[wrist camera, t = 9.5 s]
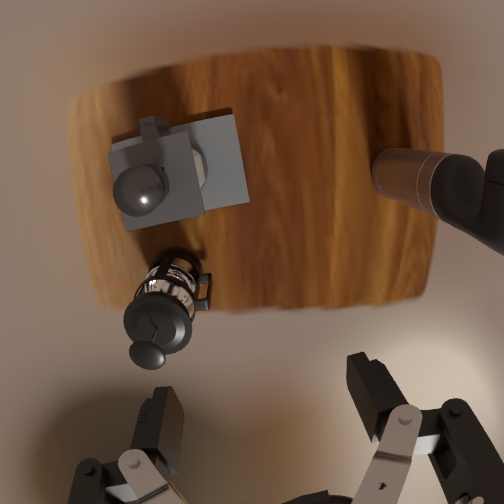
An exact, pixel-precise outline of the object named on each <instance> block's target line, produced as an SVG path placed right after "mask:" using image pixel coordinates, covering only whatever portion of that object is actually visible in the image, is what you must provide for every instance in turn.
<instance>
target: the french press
mask: <svg viewBox="0 0 504 504" xmlns="http://www.w3.org/2000/svg"><path fill="white" fill-rule="evenodd" d="M175 257H179V258H182V259H184V260H186V261H188V262H189V263H190V264H191V265H192V266H193V267H194V269H195V272H196V279H195V280H194V278H193V277H192V276H191V274H190V273H189V272H188V271H187V270H185V269H184V268H182V267H180V266H178V265H174V264H172V262H173V260H174V258H175ZM161 261H162V262H161ZM160 262H161V264H160ZM159 264H160V266H159ZM201 284H208V289H207V297H206V298H204V299H198V296H199V290H200V286H201ZM212 284H213V282H212V274H211V273H205V274H203V268H202V265H201V263H200V261H199V260H198V258H197V257H196V256H195V255H194V254H193V253H191V252H190V251H188V250H185V249H182V248H168V249H165V250H163V251H161V252H160V253H159V254H158V255H157V256H156V257H155V258H154V260H153V262H152V264H151V267H150V269H149V272H148V276H147V277H146V280H144V281H143V282H142V283H141V284H140V286H139V287H138V289H137V291H136V293H135V296H134V300H133V301H132V302H131V303H130V304H129V305H128V307H127V308H126V310H125V313H124V320H123V321H124V327H125V330H126V332H127V334H128V336H129V337H130V339H131V340H132V341H133V342H134V343H133V344H132V345H131V346H130V349H129V355H130V357H131V359H132V361H133V362H134V363H135V364H136V365H138V366H139V367H141V368H144V369H147V370H156V369H159V368H160V367H162V366H163V365H164V363H165V359H166V358H165V354H172V353H176V352H178V351H180V350H182V349H183V348H184V347H185V346H186V345H187V344H188V343H189V340H190V338H191V334H192V324H191V323H192V322H193V319H194V317H195V312H196V311H200V310H209V309H210V302H211V293H212ZM142 286H143V287H142ZM141 287H142V289H141V290H140V292H139V294H138V290H139V289H140V288H141ZM137 294H138V296H137ZM192 304H193V305H194V313H193V316H192V317H191V319H190V316H189V312H188V310H187V309H188V308H189V307H191V306H192Z"/></svg>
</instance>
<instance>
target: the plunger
mask: <svg viewBox="0 0 504 504" xmlns="http://www.w3.org/2000/svg"><path fill="white" fill-rule="evenodd" d="M168 192H169V179H168V176H167V174H166V173H165V171H164V170H163V169H162V168H160V167H159V166H157V165H154V164H143V165H139V166H135V167H131V168H128V169H126V170H124V171H123V172H122V173H121V174H120V175H119V176H118V177H117V179H116V181H115V183H114V187H113V196H114V200H115V202H116V205H117V206H118V208H119V209H120V210H121V211H122V212H124V213H125V214H127V215H129V216H133V217H141V216H145V215H147V214H149V213H150V212H152V211H153V210H154V209H155V208H156V207H157V206H158V205H160V204H161V203H162V202H163V201H164V200H165V198H166V197H167V195H168Z"/></svg>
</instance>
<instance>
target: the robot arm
mask: <svg viewBox="0 0 504 504" xmlns="http://www.w3.org/2000/svg"><path fill="white" fill-rule="evenodd" d="M372 180H373V183H374V186H375V187H376V189H377V191H378V192H379V193H380V194H382V195H383V196H385V197H387V198H390V199H392V200H395V201H397V202H399V203H402V204H404V205H407V206H409V207H411V208H414V209H416V210H418V211H421V212H423V213H425V214H428V215H430V216H432V217H435V218H437V219H439V220H441V221H444V222H446V223H448V224H450V225H451V226H453V227H455V228H457V229H459V230H461V231H463V232H465V233H467V234H468V235H470V236H472V237H474V238H475V239H477V240H478V241H480V242H482V243H483V244H485V245H486V246H488V247H489V248H491V249H493V250H495V251H496V252H498V253H499V254H501V255H503V256H504V149H500V150H495V151H493V152H491V154H490V155H489V156H488V159H487V164H486V170H485V172H484V170H483V168H482V166H481V165H480V164H479V163H478V162H477V161H476V160H474V159H473V158H471V157H469V156H465V155H459V154H451V153H442V152H434V151H425V150H416V149H406V148H387V149H384V150H383V151H381V152H380V153H379V154H378V155H377V157H376V158H375V160H374V162H373V165H372ZM346 380H347V386H348V390H349V392H350V394H351V396H352V399H353V401H354V404H355V406H356V408H357V410H358V412H359V415H360V417H361V419H362V422H363V424H364V426H365V429H366V431H367V433H368V436H369V438H370V440H371V443H374V442H376V441H379V442H380V444H379V446H378V448H377V451H376V453H375V454H374V456H373V458H372V461H371V463H370V465H369V468H368V470H367V472H366V474H365V477H364V479H363V481H362V483H361V485H360V487H359V489H358V491H357V493H356V495H355V497H354V499H353V498H350V497H346V496H340V495H329V494H328V490H325V491H321V492H317V493H313V494H308V495H303V496H300V497H298V498H295V499H293V500H290V501H288V502H285V503H282V504H397V501H398V498H399V496H400V493H401V491H402V488H403V485H404V483H405V480H406V477H407V474H408V471H409V468H410V465H411V461H412V460H411V458H412V455H420V454H428V456H429V459H430V461H431V463H432V465H433V468H434V470H435V472H436V475H437V477H438V479H439V482H440V484H441V487H442V489H443V492H444V494H445V496H446V499H447V502H448V504H504V463H503V462H502V460H501V458H500V456H499V454H498V452H497V451H496V449H495V447H494V445H493V444H492V442H491V440H490V439H489V437H488V435H487V434H486V432H485V431H484V429H483V427H482V425H481V424H480V422H479V421H478V419H477V417H476V416H475V414H474V413H473V411H472V409H471V408H470V406H469V405H468V404H467V402H465V401H464V400H462V399H458V398H455V399H454V398H453V399H449V400H448V401H446V402H445V403H444V404H443V405H442V407H441V408H439V409H432V410H419V409H418V408H417V407H415V406H413V405H410V404H409V403H408V402H407V400H406V399H405V397H404V395H403V394H402V392H401V391H400V389H399V387H398V386H397V384H396V382H395V381H394V380H393V378H392V376H391V375H390V373H389V371H388V370H387V368H386V366H385V365H384V364H382V363H381V362H379V361H378V360H377V359H375V360H372V361H369V359H368V358H367V356H366V354H365V353H364V352H360V353H356V354H352V355H349V356H347V374H346ZM183 424H184V411H183V408H182V405H181V403H180V402H179V400H178V398H177V396H176V393H175V391H174V389H173V388H172V387H171V386H168V387H156V388H155V389H154V393H153V397H152V398H148V399H146V400H145V402H144V403H143V405H142V406H141V408H140V412H139V417H138V419H137V425H136V427H135V431H134V435H133V439H132V443H131V447H130V450H129V451H126V452H125V453H123V454H122V455H121V457H120V458H119V460H118V461H114V462H110V463H105V464H101V463H100V462H99V461H97V460H96V459H93V458H88V459H85V460H83V461H81V462H80V463H79V464H78V466H77V468H76V471H75V475H74V479H73V483H72V487H71V492H70V496H69V501H68V504H131V501H133V500H139V501H138V504H188V503H187V502H186V501H185V500H184V498H183V497H182V496H181V495H180V494H179V492H178V491H177V490H176V489H175V488H174V486H173V485H172V484H171V483H170V474H178V472H179V462H180V451H181V443H182V434H183Z"/></svg>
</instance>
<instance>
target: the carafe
mask: <svg viewBox="0 0 504 504" xmlns="http://www.w3.org/2000/svg"><path fill="white" fill-rule="evenodd" d="M138 121H139V126H140V132H141V137H142V143H138V144H135V145H132V146H128V147H125V148H122V149H118V150H115V151H112V152H109V153H108V156H109V161H110V166H111V170H112V175H113V179H114V183H115V181H116V179H117V177H118V176H119V175H120V174H121V173H122V172H123V171H124V170H126V169H128V168H131V167H135V166H139V165H143V164H154V165H157V166H159V167H160V168H162V169H163V170H164V171H165V173H166V174H167V176H168V179H169V192H168V195H167V197H166V198H165V200H164V201H163V202H162V203H161V204H160V205H158V206H157V207H156V208H155V209H154V210H153V211H152V212H150V213H149V214H147V215H145V216H141V217H133V216H129V215H127V214H125V213H124V212H122V211H121V212H122V216H123V219H124V223H125V227H126V230H127V232H128V231H132V230H136V229H141V228H145V227H149V226H154V225H158V224H163V223H167V222H172V221H177V220H181V219H186V218H191V217H196V216H201V215H205V209H204V205H203V200H202V195H201V191H200V190H201V189H202V188H203V186H204V184H205V182H206V180H207V175H208V165H207V161H206V159H205V157H204V155H203V153H202V152H201V151H200V150H199V149H198V148H197V147H196V146H194V145H192V144H191V141H190V136H189V131H184V132H180V133H176V134H172V135H171V129H170V124H169V121H167V120H164V119H162V118H159V117H157V116H154V115H152V116H149V117H145V118H142V119H138Z"/></svg>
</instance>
